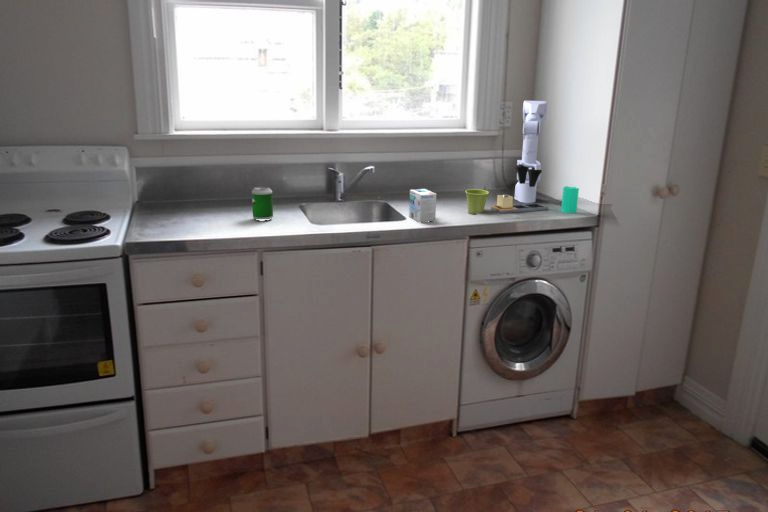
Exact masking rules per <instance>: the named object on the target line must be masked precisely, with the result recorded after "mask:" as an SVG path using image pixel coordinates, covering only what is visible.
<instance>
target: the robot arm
mask: <svg viewBox="0 0 768 512" xmlns="http://www.w3.org/2000/svg"><path fill="white" fill-rule="evenodd" d="M547 108H548V102H547V100H526V99H525V100H524V101H523V106H522V119H523V120H522V121H523V125H522V134H523V135H522V140H523V141H522V150H521V151H522V152H521V153H522V155H521V159H517V161H516V162H517V163H516V165H517V166H515V170H516V180H517V183H516V184H515V188H514V197H513V200H517V201H518V202H520V203H524V204H535V203H536V201H537V199H536V198H537V187H538V186H537V185H538V183H540V182H541V177H542V176H541V175H542V173H543V171H542V164H541V162H540V161H539V160H537V158H538V157H537V155H538V146H539V145H538V144H539V143H538V142H539V136H540V133H541V125H542V124H544V123H545V121H546V119H547V118H546V117H547V110H548V109H547Z"/></svg>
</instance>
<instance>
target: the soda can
mask: <svg viewBox="0 0 768 512" xmlns="http://www.w3.org/2000/svg"><path fill="white" fill-rule="evenodd" d="M251 200H252V201H251V203H252V204H251V205H252V218H253V219H254V218H255V219H270V218H272V217H273V218H274V210H273V209H274V205H273V203H274V202H273V201H274V199H273V190H272V189H271V188H270V187H269V186H256V187H254V188H253V189H252V190H251ZM273 218H272V219H273ZM255 219H254V220H255Z"/></svg>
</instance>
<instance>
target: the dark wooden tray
mask: <svg viewBox="0 0 768 512" xmlns="http://www.w3.org/2000/svg"><path fill="white" fill-rule="evenodd" d="M548 209H549V208H548V206H545V204H544V205H543V204H540V203H524V204H513V205H512V208H510V209H499V208H497V205H491V207H490V210H491V211H493V212H495V213H497V214H512V213H524V212H525V213H526V212H527V213H528V212H540V211H548Z"/></svg>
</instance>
